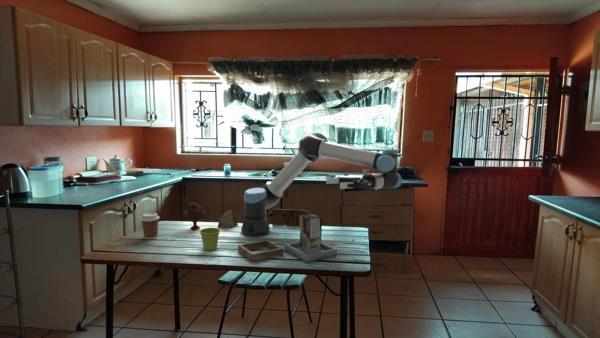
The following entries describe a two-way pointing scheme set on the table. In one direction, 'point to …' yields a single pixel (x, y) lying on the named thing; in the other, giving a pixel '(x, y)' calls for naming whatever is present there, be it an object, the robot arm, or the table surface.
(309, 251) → the coffee box
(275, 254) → the square wooden frame
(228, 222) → the rock
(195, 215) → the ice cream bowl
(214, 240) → the plant pot
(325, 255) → the tray
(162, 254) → the table surface
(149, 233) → the coffee cup
